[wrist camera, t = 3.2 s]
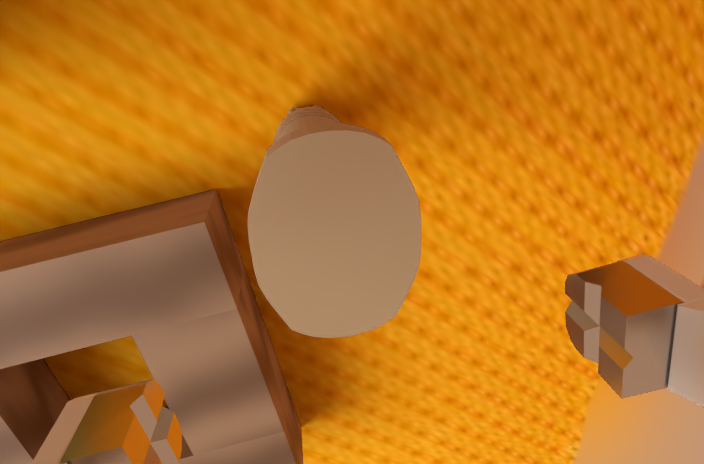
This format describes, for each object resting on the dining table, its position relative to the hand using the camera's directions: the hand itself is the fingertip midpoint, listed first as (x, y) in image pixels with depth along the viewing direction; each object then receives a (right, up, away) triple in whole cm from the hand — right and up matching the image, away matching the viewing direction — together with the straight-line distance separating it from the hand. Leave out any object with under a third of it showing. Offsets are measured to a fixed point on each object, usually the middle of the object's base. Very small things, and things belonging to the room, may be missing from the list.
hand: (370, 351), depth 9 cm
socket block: (-16, -6, +22) cm, 28 cm away
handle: (-3, +8, +18) cm, 20 cm away
